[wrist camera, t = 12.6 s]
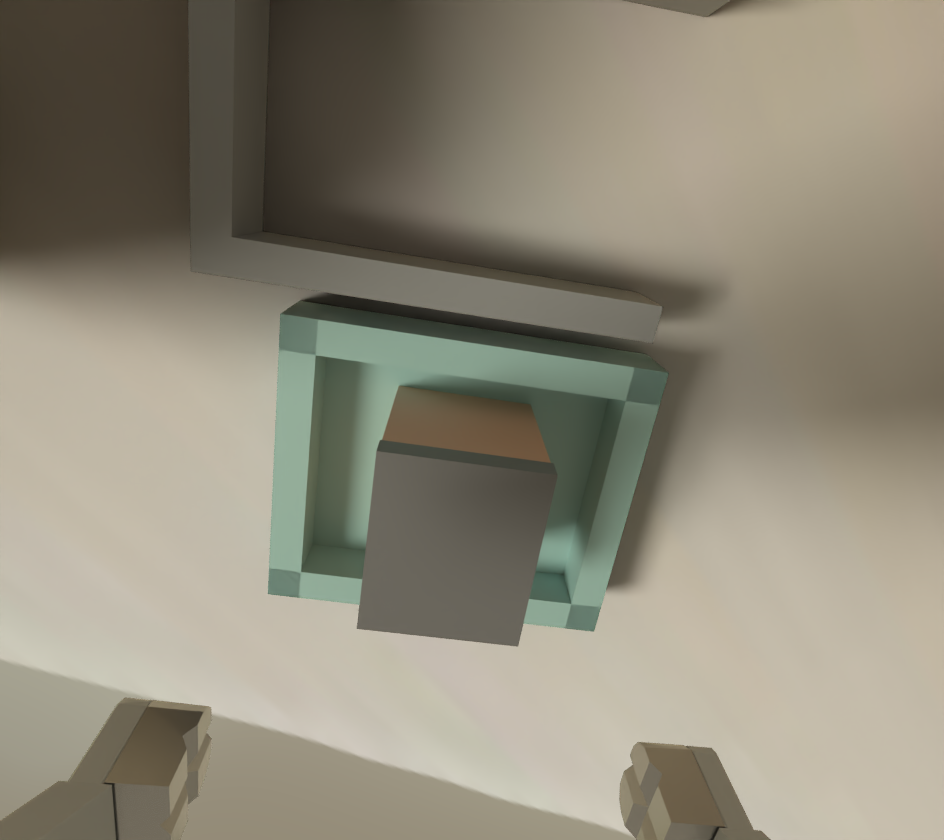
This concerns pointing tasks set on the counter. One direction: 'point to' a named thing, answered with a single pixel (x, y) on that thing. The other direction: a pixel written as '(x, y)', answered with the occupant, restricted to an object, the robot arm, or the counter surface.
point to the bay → (331, 264)
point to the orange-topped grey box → (455, 518)
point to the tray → (460, 372)
